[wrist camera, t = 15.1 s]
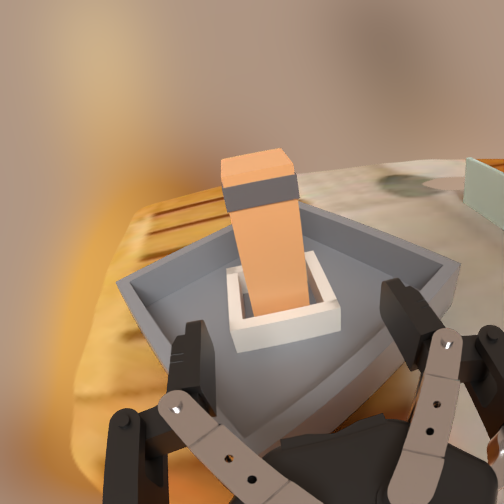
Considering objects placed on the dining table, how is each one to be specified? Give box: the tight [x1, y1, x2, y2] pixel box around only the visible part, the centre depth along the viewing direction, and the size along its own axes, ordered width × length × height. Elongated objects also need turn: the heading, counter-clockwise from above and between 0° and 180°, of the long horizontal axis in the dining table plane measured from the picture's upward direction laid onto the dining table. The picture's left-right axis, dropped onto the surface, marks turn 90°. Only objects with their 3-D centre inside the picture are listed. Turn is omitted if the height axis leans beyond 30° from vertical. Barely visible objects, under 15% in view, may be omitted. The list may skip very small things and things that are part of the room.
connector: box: [221, 148, 310, 317], centre depth 24 cm, size 5×5×13 cm
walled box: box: [116, 201, 461, 458], centre depth 27 cm, size 22×22×4 cm
